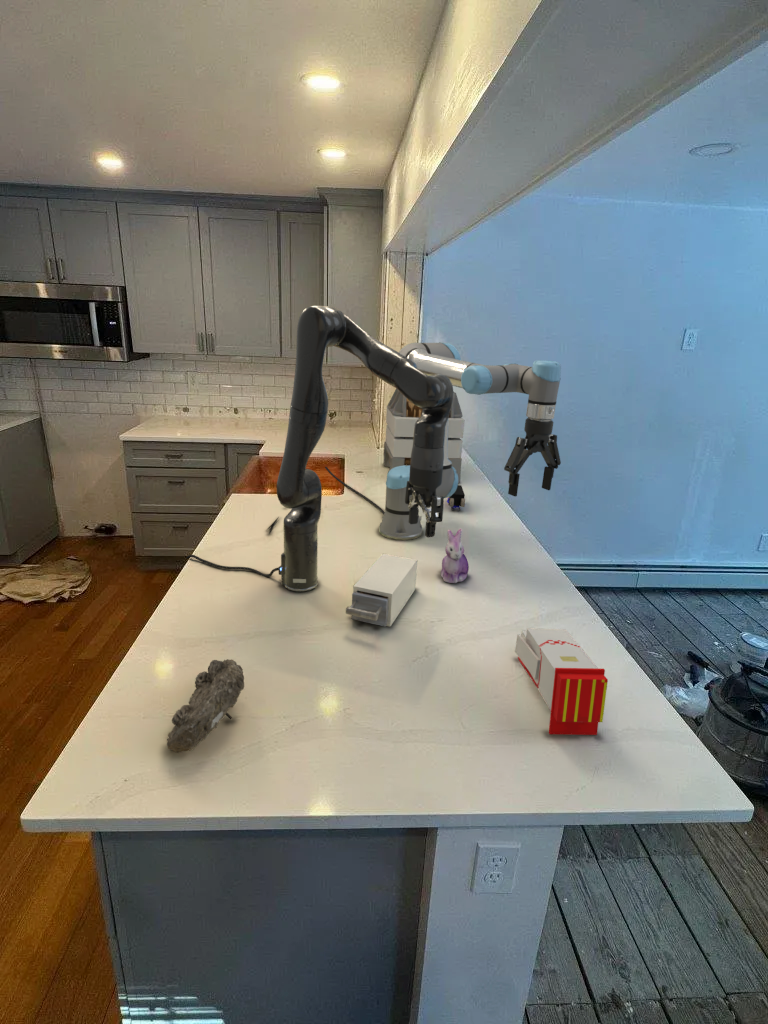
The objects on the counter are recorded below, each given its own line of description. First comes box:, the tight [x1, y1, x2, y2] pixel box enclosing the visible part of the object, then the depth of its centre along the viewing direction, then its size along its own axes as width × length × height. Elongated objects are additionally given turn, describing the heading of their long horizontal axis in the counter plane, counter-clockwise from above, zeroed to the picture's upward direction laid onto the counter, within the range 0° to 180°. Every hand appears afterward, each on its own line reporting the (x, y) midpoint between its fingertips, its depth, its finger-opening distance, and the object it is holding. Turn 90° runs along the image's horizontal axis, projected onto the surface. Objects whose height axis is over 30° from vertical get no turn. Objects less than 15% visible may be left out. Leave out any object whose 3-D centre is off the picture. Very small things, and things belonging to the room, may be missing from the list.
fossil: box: [166, 658, 245, 754], centre depth 106 cm, size 22×10×15 cm
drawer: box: [345, 591, 388, 627], centre depth 146 cm, size 26×9×7 cm, turn 160°
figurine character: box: [446, 484, 466, 511], centre depth 229 cm, size 7×8×15 cm
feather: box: [266, 516, 280, 535], centre depth 206 cm, size 2×28×2 cm
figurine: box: [440, 528, 470, 584], centre depth 167 cm, size 9×10×15 cm
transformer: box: [383, 388, 465, 484], centre depth 268 cm, size 34×33×41 cm
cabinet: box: [352, 553, 418, 627], centre depth 151 cm, size 22×10×9 cm, turn 161°
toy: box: [514, 627, 609, 736], centre depth 119 cm, size 12×13×30 cm
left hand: (421, 529), depth 135 cm, fingers open, 8 cm apart
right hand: (529, 492), depth 164 cm, fingers open, 13 cm apart
